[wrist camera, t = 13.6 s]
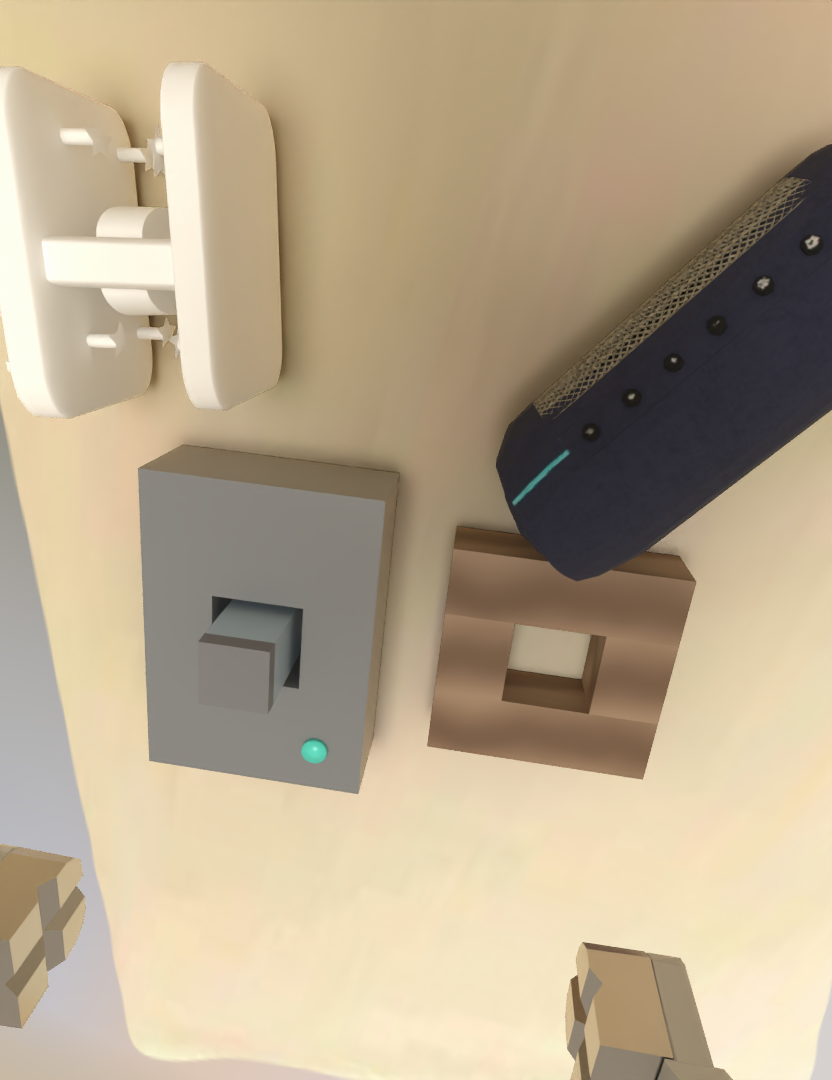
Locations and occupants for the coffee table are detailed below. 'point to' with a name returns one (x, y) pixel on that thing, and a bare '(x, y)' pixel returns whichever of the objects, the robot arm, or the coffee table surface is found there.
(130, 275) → the cable organizer
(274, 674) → the plug
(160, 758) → the port box
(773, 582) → the coffee table surface
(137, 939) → the coffee table surface
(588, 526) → the portable speaker
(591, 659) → the square wooden frame
